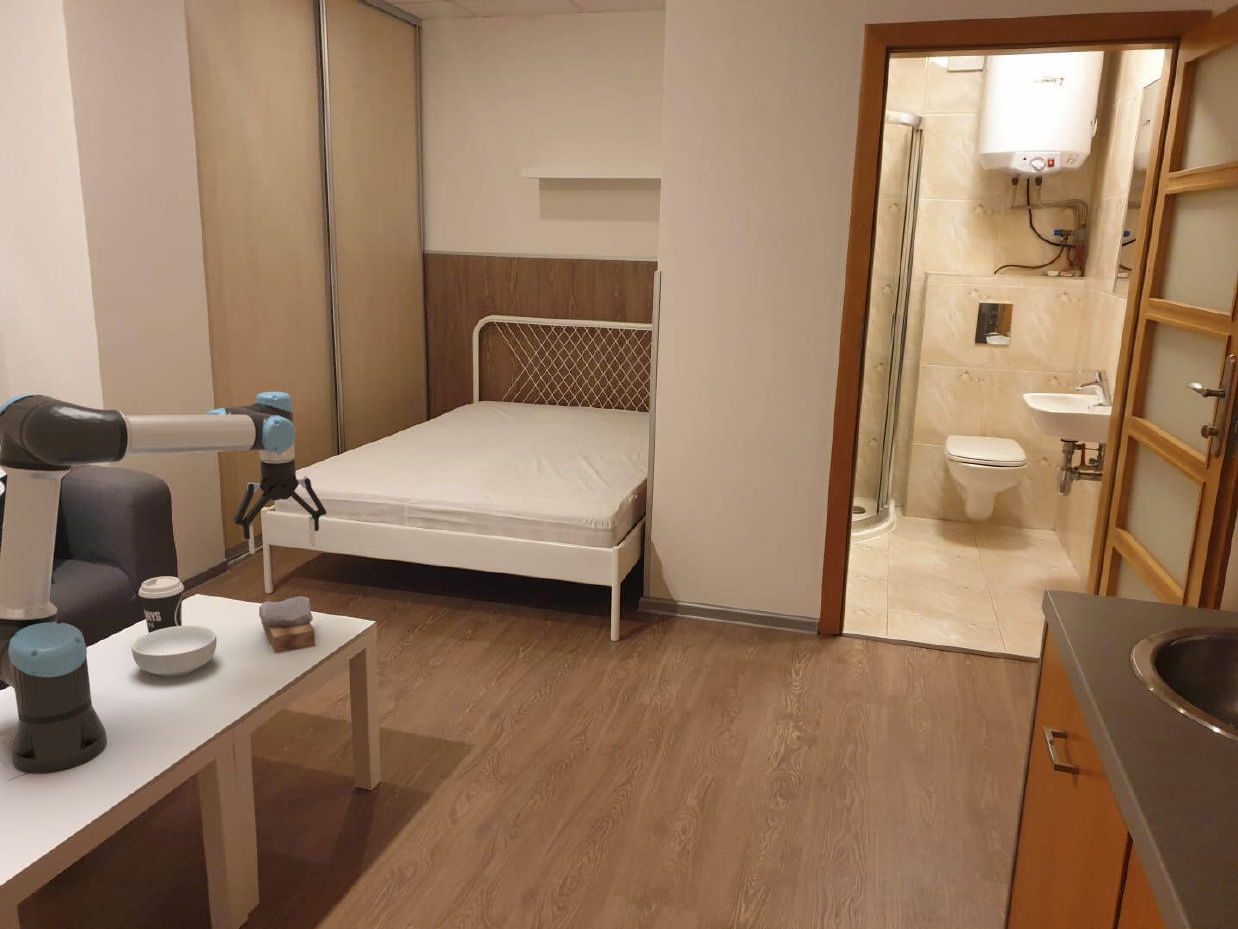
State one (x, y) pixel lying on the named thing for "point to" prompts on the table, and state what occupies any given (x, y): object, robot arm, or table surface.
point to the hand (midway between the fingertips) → (282, 548)
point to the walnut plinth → (290, 637)
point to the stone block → (286, 612)
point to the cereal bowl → (174, 650)
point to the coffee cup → (162, 602)
